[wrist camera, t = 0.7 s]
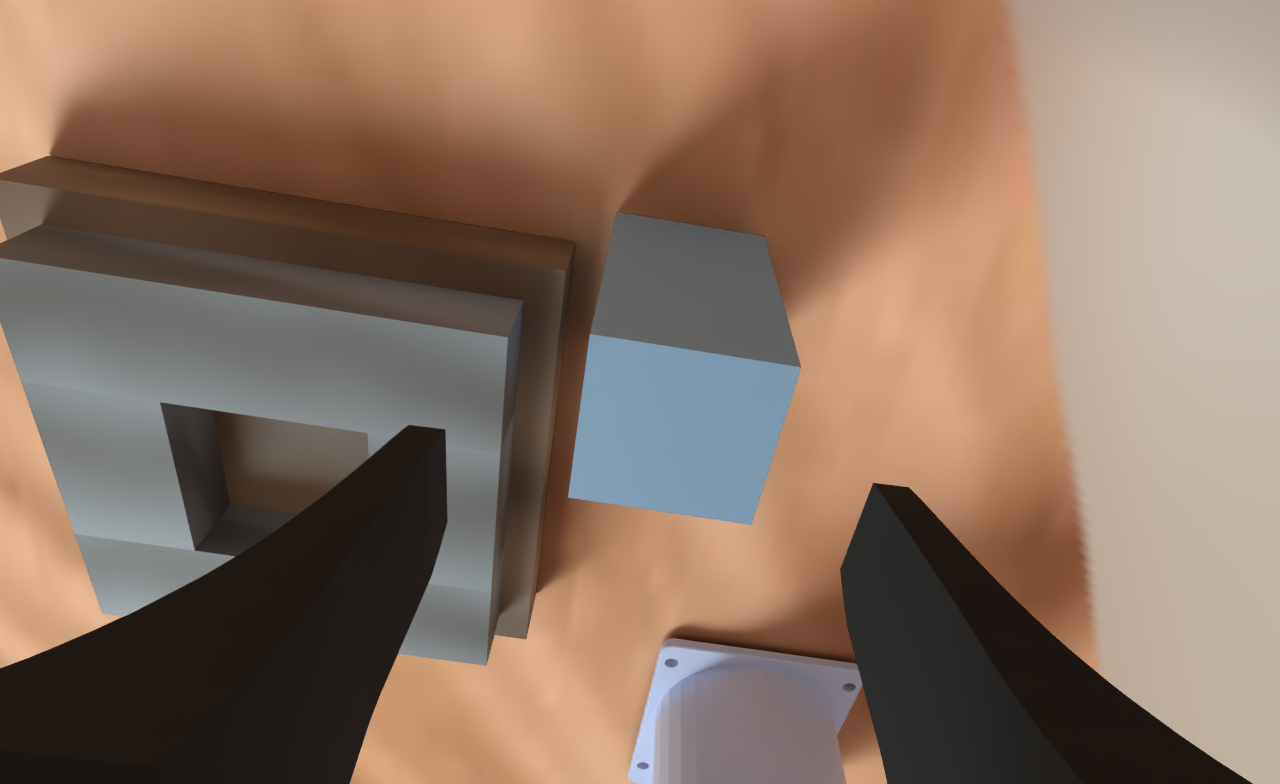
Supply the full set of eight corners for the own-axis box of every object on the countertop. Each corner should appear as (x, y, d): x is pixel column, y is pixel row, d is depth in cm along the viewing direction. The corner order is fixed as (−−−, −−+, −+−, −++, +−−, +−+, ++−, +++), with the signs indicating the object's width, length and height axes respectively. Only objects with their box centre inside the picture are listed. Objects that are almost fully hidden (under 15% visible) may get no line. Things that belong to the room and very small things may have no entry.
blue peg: (731, 363, 22) (750, 525, 16) (598, 342, 22) (568, 497, 16) (764, 236, 20) (801, 367, 14) (617, 211, 20) (590, 333, 14)
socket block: (535, 595, 27) (515, 689, 24) (153, 541, 27) (78, 630, 23) (575, 241, 20) (554, 305, 17) (47, 155, 19) (-87, 203, 16)
